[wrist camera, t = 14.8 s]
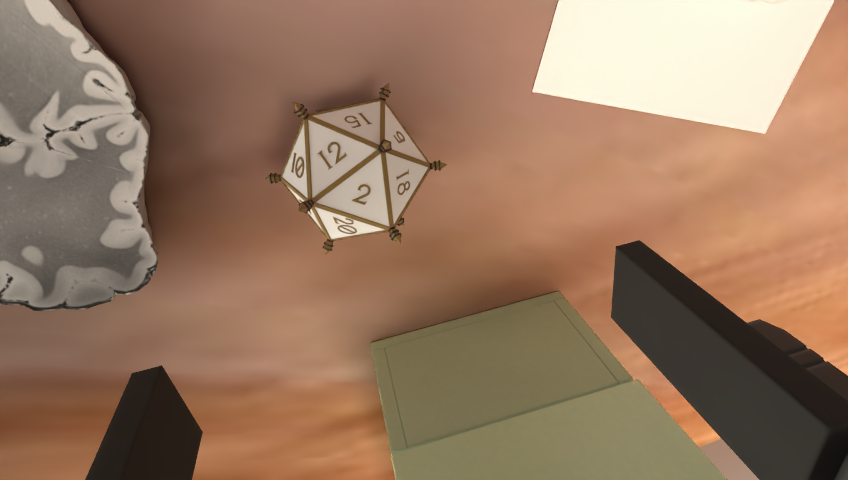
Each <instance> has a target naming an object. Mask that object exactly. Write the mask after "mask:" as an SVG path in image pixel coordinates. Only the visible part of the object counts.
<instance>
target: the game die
mask: <svg viewBox="0 0 848 480" xmlns="http://www.w3.org/2000/svg"><path fill="white" fill-rule="evenodd" d="M379 93H380V98H379V99H375V100H371V101H366V102H361V103H357V104H352V105H348V106H343V107H339V108H334V109H330V110H325V111H318V110H317V111H316V113H311V114H308V113H307V109H305V108H304V105H302V104H301V105H299V104H297V103H294V102H293V103H294V109H295V112H294V113H297V114H298V117H302V118H303V121H302V123H301V126H300V128H299V131H298V133H297V136H296V138H295V141H294V143H293V146H292V148H291V151H290V153H289V156H288V158H287V161H286V163H285V166H284V168H283V171H282V173H281V174H280V175H278V174H276V173H275V174H272V173H270V175H269V176H268V177H267V178H265V180H267V181H269V182H271V183H274V182H275V183H277V182H278V181H282V182H283V184H284V185H285V186H286V187H287V189H288V190H289V191H290V192H291V194H292V195H293V196H294V197H295V199H296V200H297V201H298V203H299V206H300V207H299V211H300V212H305V213H307V214H308V215H309V216H310V218H311V219H312V220H313V221H314V223H315V224H316V225H317V226H318V228H319V229H320V230H321V232H322V233H323V234H324V235H325V237H326V238H327V241H326V242H325V243H324V244H325V245H324V246H323V247H322V248H323V249H324V253H325V254H326V253H328V252H329V251H331V250H332V247H333V241H336V240H342V239H347V238H353V237H359V236H365V235H371V234H377V233H383V232H390V237H392V239H391V240H395V241H397V242H399V243H401V233H399V230H396V229H395V227H396V225H399V226H400V225H404V218H402V215H403V214H404V212H405V210H406V209H407V207H408V205H409V204H410V202H411V200H412V199H413V197H414V195H415V194H416V192H417V190H418V189H419V187H420V185H421V184H422V182H423V180H424V179H425V177H426V175H427V174H428V172H429V170H430V169H434V170H435V171H436V170H439V171H440V169H442V168H443V167H444V166H446V165H447V164H445V163H442V162H440V160H439V161H437V162H436V161H434V162H433V163H429V161H428V160H427V158H426V157H425V156H424V154H423V153H422V152H421V150H420V149H419V147H418V146H417V145H416V143H415V142H414V140H413V139H412V138H411V136H410V135H409V134H408V132H407V131H406V129H405V128H404V127H403V125H402V124H401V122H400V121H399V120H398V118H397V117H396V116H395V114H394V113H393V111H392V110H391V109H390V107H389V106H388V104H387V103H386V102H385V100H386V98H387V97H389V96H388V95H389V93H391V92H390V89H389V83H388V84H387V85H385V86H384V87H383V88H381V92H379Z"/></svg>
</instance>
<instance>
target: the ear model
mask: <svg viewBox="0 0 848 480" xmlns="http://www.w3.org/2000/svg"><path fill="white" fill-rule="evenodd" d="M760 1H761V2H763V3H766V4H769V5H778V4H782V3H784V2H787V1H788V0H760Z"/></svg>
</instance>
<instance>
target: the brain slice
mask: <svg viewBox="0 0 848 480" xmlns="http://www.w3.org/2000/svg"><path fill="white" fill-rule="evenodd" d="M134 102H136V96H135V92H134V90H133V88H132V86H131V84H130V82H129V80H128V78H127V76H126V74H125V72H124V71H123V70H122V69H121V68H120V67H119V65H118V64H117V63H116V62H114V61H113V60H112V59H110V58H109V57H108V56H107V55H106V54H105V52H104V51H103V50H102V48H101V47H100V46H99V44H98V43H97V42H96V41H95V40H94V39H93V38H92V36H91V35H90V34H89V33H88V32H87V31H86V30H85V29H84V27H83V25H82V23H81V21H80V19H79V18H78V16H77V15H76V13H75V11H74V10H73V8H72V7H71V5H70V4H69V2H68V1H67V0H0V304H4V305H24V306H26V307H28V308H30V309H32V310H35V311H50V310H56V309H61V308H66V309H76V310H79V309H87V308H90V307H93V306H96V305H99V304H103V303H106V302H110V301H111V300H113V299H114V298H115V294H121V295H128V294H131V293H134V292H136V291H138V290H140V289H141V288H142V287H144V286H145V285H146V284H148V282H149V281H150V279H151V277H152V276H153V274H154V272H155V270H156V267H157V263H158V252H157V249H156V247H155V246H154V244H153V243H152V230H151V228H150V226H149V223H148V219H147V210H146V206H145V196H144V179H145V175H146V170H147V164H148V148H149V137H150V130H151V128H150V125H149V123H148V121H147V120H146V118H145V117H144V115H143V113H142V112H141V111H139V110H136V105H135V103H134Z"/></svg>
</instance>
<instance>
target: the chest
mask: <svg viewBox="0 0 848 480" xmlns="http://www.w3.org/2000/svg"><path fill="white" fill-rule="evenodd" d="M370 346H371V351H372V356H373V361H374V367H375V372H376V377H377V382H378V387H379V392H380V398H381V403H382V408H383V413H384V418H385V424H386V429H387V434H388V439H389V444H390V450H391V454H392V455H393V454H396V453H400V452H403V451H406V450H409V449H413V448H416V447H419V446H422V445H426V444H429V443H432V442H435V441H439V440H442V439H445V438H449V437H452V436H455V435H458V434H462V433H465V432H468V431H471V430H475V429H478V428H481V427H484V426H488V425H491V424H494V423H497V422H501V421H504V420H507V419H511V418H514V417H517V416H520V415H524V414H527V413H530V412H533V411H537V410H540V409H543V408H546V407H550V406H553V405H556V404H559V403H563V402H566V401H569V400H573V399H576V398H579V397H582V396H586V395H589V394H592V393H595V392H599V391H602V390H605V389H608V388H612V387H615V386H618V385H621V384H625V383H628V382H631V381H632V380H633V378H632V377H631V376H630V374H629V373H628V372H627V371H626V370H625V368H624V367H623V366H622V365H621V364H620V362H619V361H618V360H617V359H616V358H615V357H614V355H613V354H612V353H611V352H610V351H609V349H608V348H607V347H606V346H605V345H604V343H603V342H602V341H601V340H600V339H599V337H598V336H597V335H596V334H595V333H594V331H593V330H592V329H591V328H590V327H589V325H588V324H587V323H586V322H585V321H584V320H583V318H582V317H581V316H580V315H579V314H578V312H577V311H576V310H575V309H574V308H573V306H572V305H571V304H570V303H569V302H568V300H567V299H566V298H565V297H564V296H563V295H562V293H561V292H560V291H557V292H553V293H550V294H546V295H542V296H539V297H535V298H532V299H528V300H524V301H521V302H517V303H513V304H510V305H506V306H503V307H499V308H495V309H492V310H488V311H484V312H481V313H477V314H473V315H470V316H466V317H463V318H459V319H455V320H452V321H448V322H444V323H441V324H437V325H433V326H430V327H426V328H423V329H419V330H415V331H412V332H408V333H404V334H401V335H397V336H393V337H390V338H386V339H383V340H379V341H375V342H372V343H370Z"/></svg>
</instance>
